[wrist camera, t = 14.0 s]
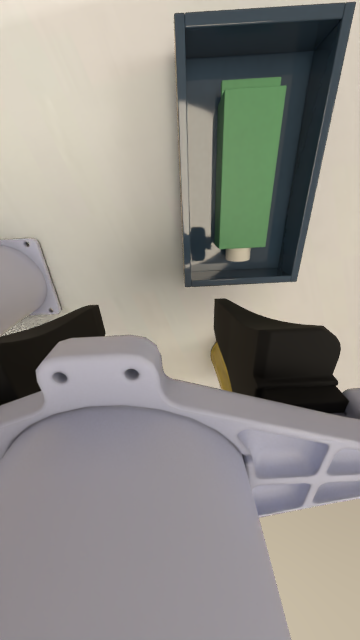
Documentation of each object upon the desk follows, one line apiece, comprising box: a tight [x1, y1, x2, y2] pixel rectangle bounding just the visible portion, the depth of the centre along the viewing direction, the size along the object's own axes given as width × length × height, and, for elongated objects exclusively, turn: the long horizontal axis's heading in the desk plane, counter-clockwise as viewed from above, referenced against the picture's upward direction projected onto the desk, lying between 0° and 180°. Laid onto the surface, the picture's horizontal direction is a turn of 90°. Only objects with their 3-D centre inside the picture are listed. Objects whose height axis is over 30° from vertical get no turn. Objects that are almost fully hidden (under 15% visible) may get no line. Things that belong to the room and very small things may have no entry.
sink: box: [174, 2, 356, 287], centre depth 17 cm, size 10×16×4 cm, turn 3°
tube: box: [214, 77, 287, 262], centre depth 17 cm, size 12×4×3 cm, turn 3°
